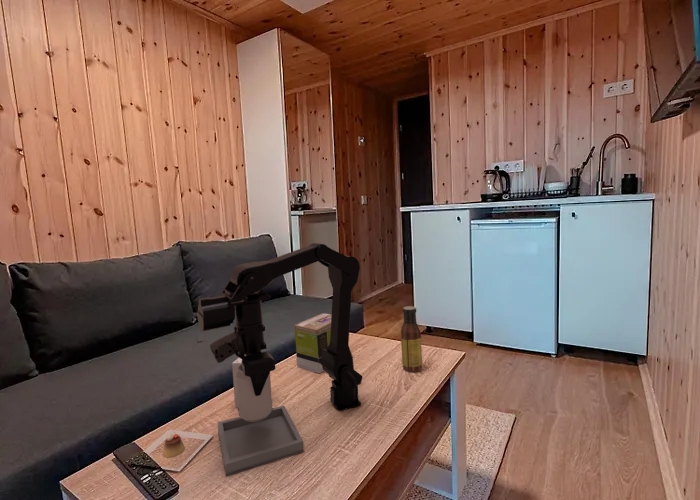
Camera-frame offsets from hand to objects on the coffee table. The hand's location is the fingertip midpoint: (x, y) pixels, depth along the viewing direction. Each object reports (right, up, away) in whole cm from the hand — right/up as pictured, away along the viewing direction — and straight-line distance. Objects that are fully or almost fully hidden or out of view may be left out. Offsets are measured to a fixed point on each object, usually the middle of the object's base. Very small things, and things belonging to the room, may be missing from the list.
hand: (254, 387), depth 85 cm
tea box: (+13, -7, +41) cm, 43 cm away
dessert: (-17, -14, -3) cm, 22 cm away
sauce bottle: (+41, -7, +34) cm, 54 cm away
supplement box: (-4, -10, +17) cm, 20 cm away
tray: (+1, -12, -1) cm, 12 cm away
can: (0, -7, +1) cm, 7 cm away
